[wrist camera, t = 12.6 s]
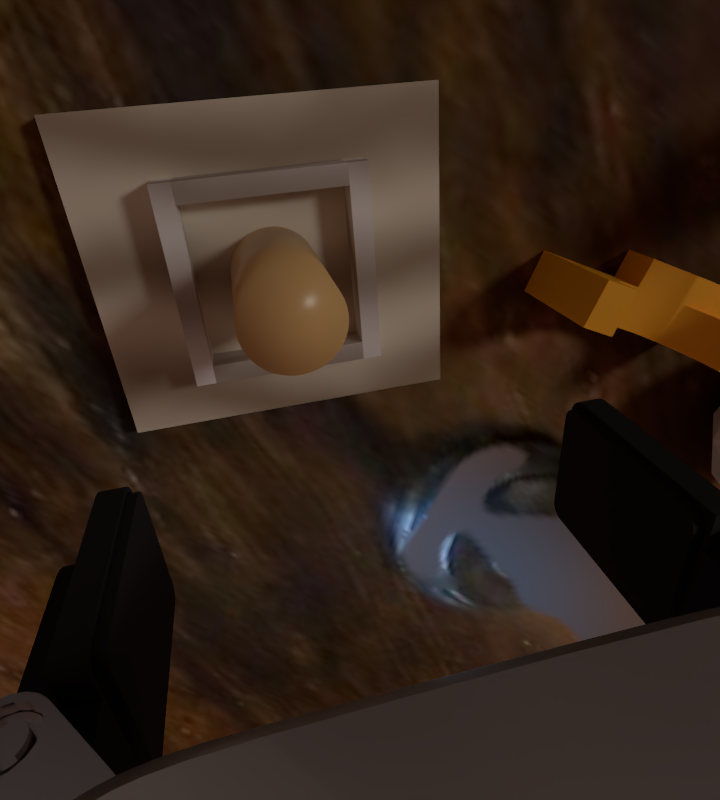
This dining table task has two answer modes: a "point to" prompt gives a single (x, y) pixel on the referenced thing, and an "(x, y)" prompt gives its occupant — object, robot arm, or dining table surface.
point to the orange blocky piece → (635, 302)
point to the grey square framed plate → (244, 213)
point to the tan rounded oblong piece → (285, 303)
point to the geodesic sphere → (716, 445)
